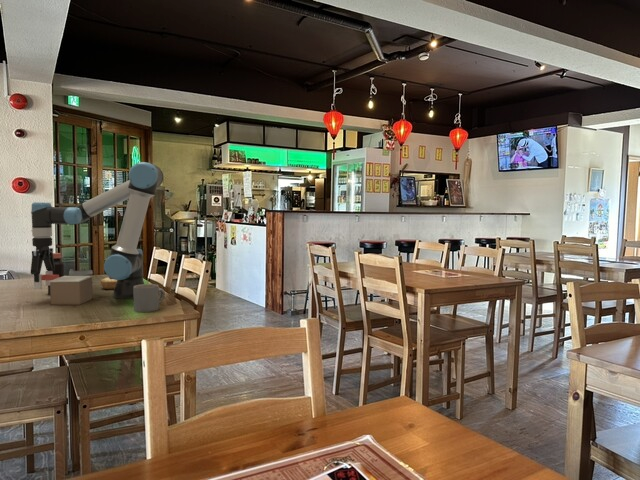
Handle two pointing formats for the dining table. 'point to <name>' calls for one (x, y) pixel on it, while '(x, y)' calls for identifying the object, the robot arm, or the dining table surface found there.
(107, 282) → the pastry
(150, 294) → the coffee mug
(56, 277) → the lid
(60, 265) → the bottle
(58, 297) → the carton
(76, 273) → the food container
